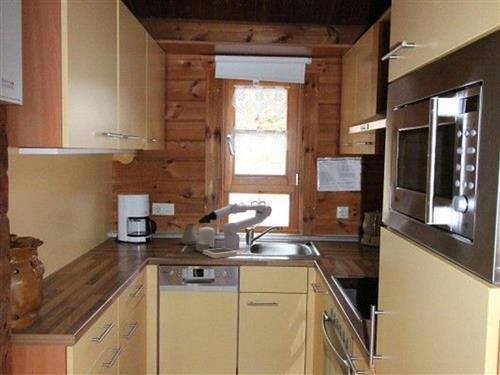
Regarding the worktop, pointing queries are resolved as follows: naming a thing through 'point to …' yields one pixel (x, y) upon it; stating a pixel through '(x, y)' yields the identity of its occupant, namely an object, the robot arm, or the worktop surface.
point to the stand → (220, 252)
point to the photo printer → (206, 235)
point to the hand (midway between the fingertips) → (201, 220)
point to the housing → (202, 246)
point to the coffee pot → (188, 234)
